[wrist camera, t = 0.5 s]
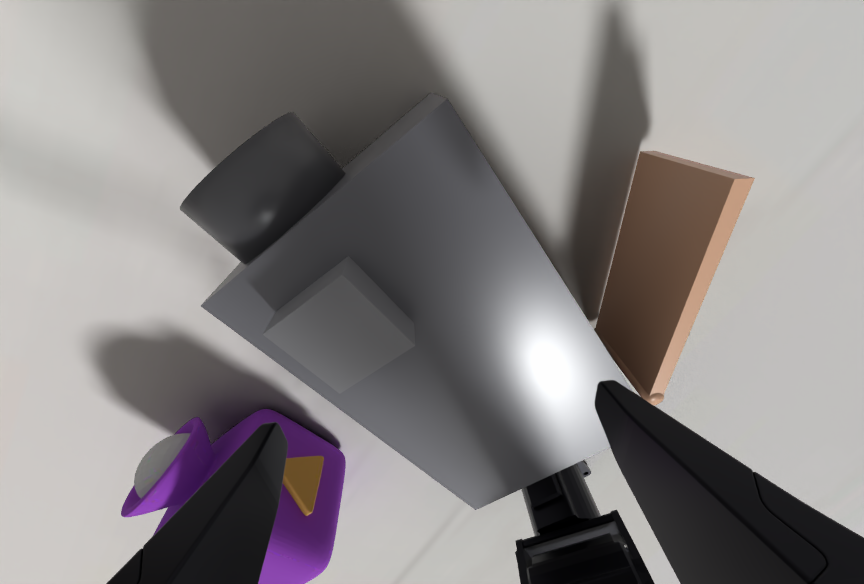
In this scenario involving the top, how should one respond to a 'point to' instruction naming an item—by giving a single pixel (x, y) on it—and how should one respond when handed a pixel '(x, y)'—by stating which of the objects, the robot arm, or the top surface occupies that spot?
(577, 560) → the robot arm
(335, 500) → the toy camera
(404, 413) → the block
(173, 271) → the top surface
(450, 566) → the top surface
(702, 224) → the side door
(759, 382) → the top surface
